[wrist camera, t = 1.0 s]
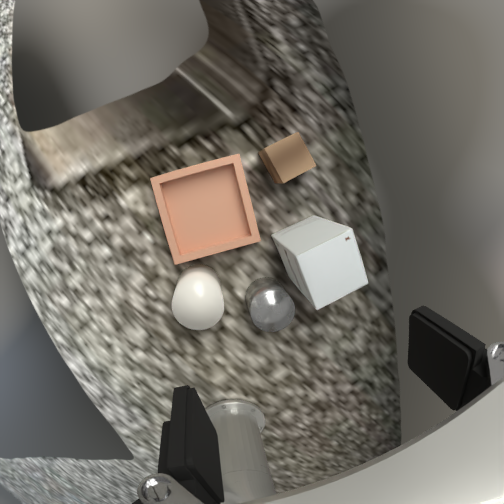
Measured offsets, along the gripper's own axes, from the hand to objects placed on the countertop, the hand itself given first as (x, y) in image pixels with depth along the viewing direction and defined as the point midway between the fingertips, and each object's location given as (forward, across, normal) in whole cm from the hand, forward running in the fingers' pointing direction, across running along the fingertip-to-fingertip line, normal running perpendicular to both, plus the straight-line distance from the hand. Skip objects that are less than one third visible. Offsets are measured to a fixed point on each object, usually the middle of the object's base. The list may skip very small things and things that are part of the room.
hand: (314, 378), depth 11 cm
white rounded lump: (+32, +7, +6) cm, 34 cm away
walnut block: (+32, -9, -9) cm, 35 cm away
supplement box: (+33, -9, +4) cm, 34 cm away
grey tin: (+32, -2, +10) cm, 34 cm away
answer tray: (+32, +3, -5) cm, 33 cm away
